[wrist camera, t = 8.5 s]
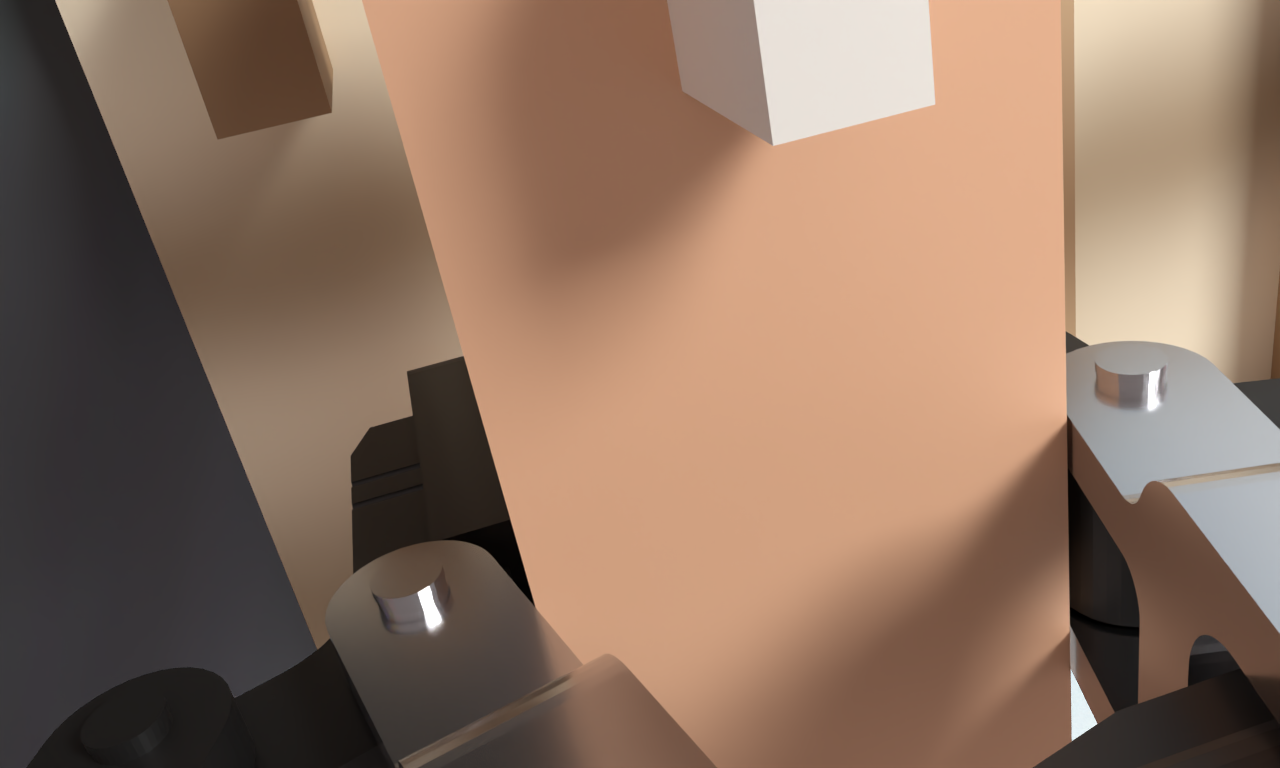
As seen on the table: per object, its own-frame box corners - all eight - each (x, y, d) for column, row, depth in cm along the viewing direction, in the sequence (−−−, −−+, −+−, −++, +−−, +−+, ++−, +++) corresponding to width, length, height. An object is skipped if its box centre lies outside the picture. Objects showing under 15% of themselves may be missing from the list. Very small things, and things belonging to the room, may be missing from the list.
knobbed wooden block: (318, -166, 10) (289, -233, 4) (747, -253, 10) (1265, -422, 5) (594, 804, 15) (753, 1370, 9) (867, 712, 16) (1175, 1195, 10)
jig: (-4, -201, 13) (-128, -229, 10) (1436, -472, 16) (1749, -570, 12) (347, 687, 19) (349, 868, 16) (1338, 383, 22) (1527, 478, 19)
